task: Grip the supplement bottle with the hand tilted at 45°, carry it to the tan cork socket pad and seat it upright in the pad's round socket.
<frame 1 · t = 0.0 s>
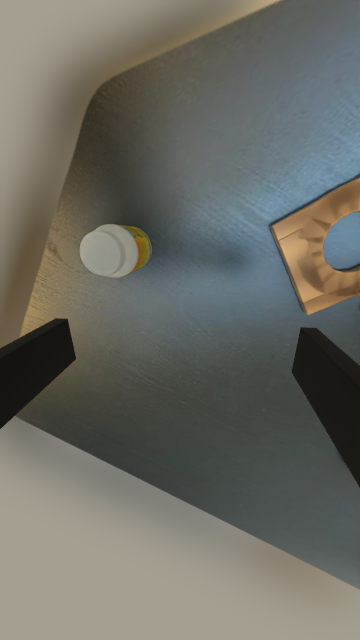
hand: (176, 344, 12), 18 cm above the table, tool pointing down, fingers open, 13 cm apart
supplement bottle: (133, 248, 29), on the table
socket pad: (347, 242, 25), on the table
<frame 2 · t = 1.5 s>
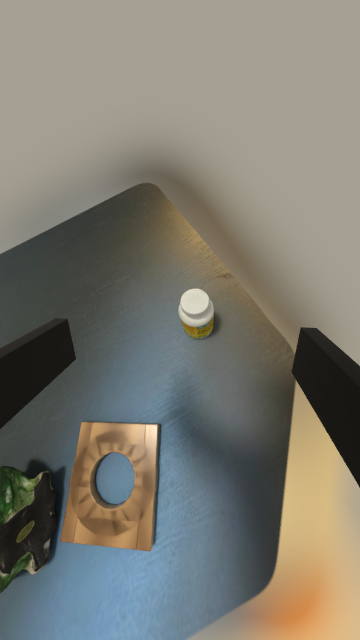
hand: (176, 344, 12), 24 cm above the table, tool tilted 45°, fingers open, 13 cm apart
supplement bottle: (198, 326, 39), on the table
socket pad: (116, 476, 31), on the table
figurine: (13, 511, 32), on the table
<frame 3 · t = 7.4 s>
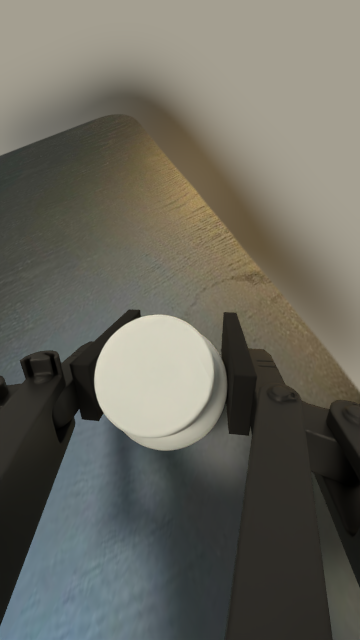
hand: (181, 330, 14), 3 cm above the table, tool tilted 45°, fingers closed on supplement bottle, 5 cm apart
supplement bottle: (181, 395, 16), on the table, touching gripper
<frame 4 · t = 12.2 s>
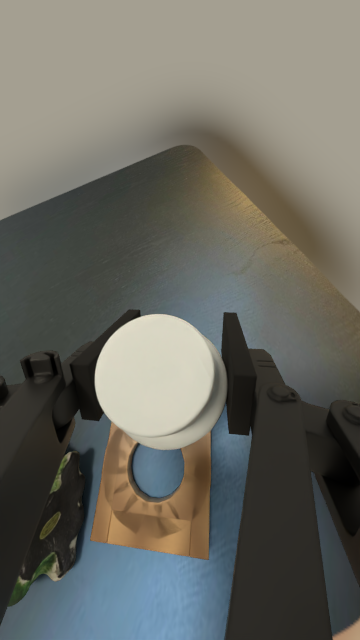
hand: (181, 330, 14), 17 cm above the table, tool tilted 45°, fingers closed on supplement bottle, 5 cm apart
supplement bottle: (181, 394, 16), point 13 cm above the table, touching gripper
socket pad: (158, 463, 26), on the table
figurine: (28, 499, 26), on the table
when the fingers open (3 cm above the table, at t = 17.0 s): supplement bottle stays where it is, resting in socket pad.
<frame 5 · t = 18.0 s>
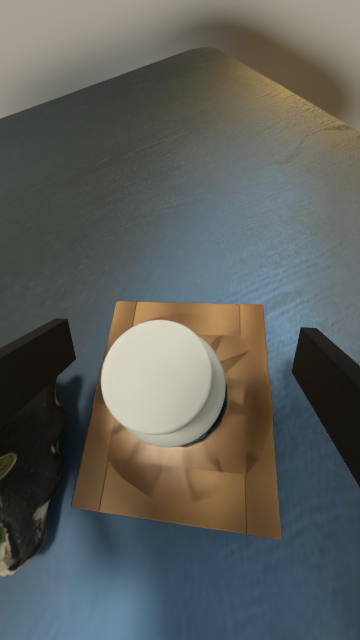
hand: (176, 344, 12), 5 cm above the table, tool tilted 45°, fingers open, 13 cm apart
supplement bottle: (181, 395, 17), resting in socket pad
socket pad: (181, 394, 16), on the table
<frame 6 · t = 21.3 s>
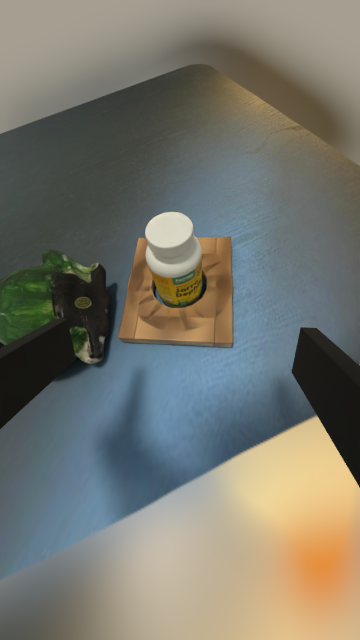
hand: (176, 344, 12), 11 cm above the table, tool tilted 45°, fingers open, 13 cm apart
supplement bottle: (180, 291, 27), resting in socket pad
socket pad: (180, 290, 27), on the table
figurine: (55, 323, 27), on the table
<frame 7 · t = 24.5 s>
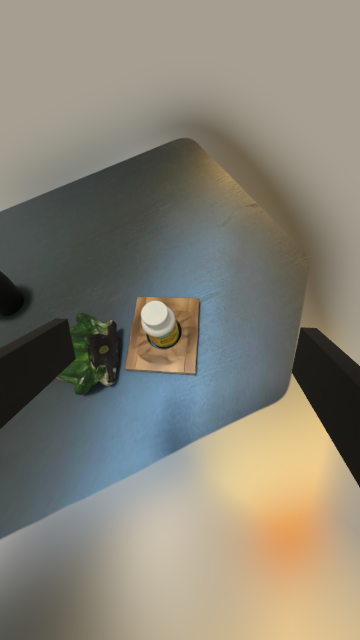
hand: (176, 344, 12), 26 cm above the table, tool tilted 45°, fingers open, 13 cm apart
supplement bottle: (165, 335, 41), resting in socket pad
mug: (3, 306, 47), on the table
socket pad: (165, 334, 40), on the table
figurine: (82, 356, 40), on the table
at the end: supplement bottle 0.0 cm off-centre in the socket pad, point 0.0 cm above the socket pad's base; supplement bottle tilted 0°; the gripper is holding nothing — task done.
